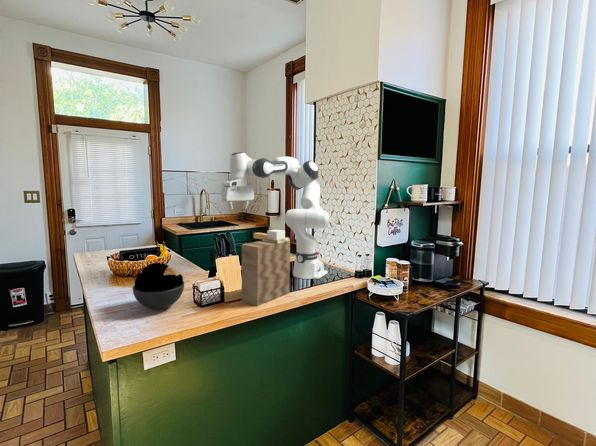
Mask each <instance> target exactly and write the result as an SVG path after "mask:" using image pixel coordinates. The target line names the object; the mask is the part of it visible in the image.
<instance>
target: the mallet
mask: <svg viewBox="0 0 596 446" xmlns="http://www.w3.org/2000/svg"><path fill="white" fill-rule="evenodd" d="M285 237H286V230H285V229H284V230H283V229H282V230H281V229H270V230H268V229H267V231H266V233H265V232H264V233H263V232H253V239H258V240H262V238H268V239H274V240H279V239H284V238H285Z"/></svg>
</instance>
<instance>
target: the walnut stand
mask: <svg viewBox="0 0 596 446" xmlns="http://www.w3.org/2000/svg"><path fill="white" fill-rule="evenodd" d="M290 261H291V238H290V237H288V236H285V238H284V239H279V240H274V239H268V238H262V239H261V240H258V241H254V242H253V241H252V242H247V243H242V244H241V302H244V303H247V304H250V305H253V306H255V307H259V306H261V305H264V304H266V303H269V302H271V301H273V300H276V299H279V298H281V297H284V296H286V295H289V294H290V274H291V271H290V270H291V269H290V268H291V262H290Z"/></svg>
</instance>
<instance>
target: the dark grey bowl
mask: <svg viewBox="0 0 596 446" xmlns="http://www.w3.org/2000/svg"><path fill="white" fill-rule="evenodd" d="M169 267H170V266H169V265H168V264H166V263H164V262H162V263H160V262H152V263H149V264H148V265H146V266H144V267H142V269H141V272H140V273H138V274H137V277H136V279H135V280H134V285H133V286H132V287H131V288H132V294H133V296H134V298H135V300H136V301H137V303H138V304H140V305H141V306H143V307H144V308H146V309H150V310H155V311H157V310H163V309H167V308H170V307H171V306H172V305H174V304H175V303H176V302H177V301H179V299H180V298H181V296H182V294H183V292H184V289H185V281H184V277H183V275H182V274H180V273H179V274H178V275H176V274H165V272H166V270H167V269H168V268H169Z"/></svg>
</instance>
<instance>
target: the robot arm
mask: <svg viewBox="0 0 596 446" xmlns="http://www.w3.org/2000/svg"><path fill="white" fill-rule="evenodd" d="M229 170H230V176H229V179H227V180H225V181H223V182H222V183H221V186H222V188H221V192H220V193H221V196H220V197H221V200H222V202H227V205H228V206H229V211H233V210H234V209H235V206H233V202H241V201H244V204H243V205H242V209H244V210H247V209H248V206H249V203H250V201H253V200H254V199H255V192H254V186H253V184H252V183H249V182H248V178H260V179H261V178H262V179H265V178H268V177H270V176H271V175H272V174H274V175H276V176H287V181H288V183H289V186H290V187H291V189H293V190H295V191H296V190H297V191H298V190H301V189H303V190H302V193H301V198H300V205H301V207H302V208H292V209H288V210H287V211H286V212H285V213H284V223H285V224H286V225H287V227H288V228H289V229H291V231H292V232H293V233H294V235H295V240H296V252H295V260H294V265H293V270H292V275H293V277H295V278H297V279H303V280H307V279H308V280H311V279H321V278H322V277H324V276H325V275H326V274H328V270H327V269H324V268H325V267H324V266H325V265H324V262H323V261H321V260H320V259H319V258H318V256H320V254H321V253H320V251H316V249H317V240H316V237H315V236H313V235H312V234H310V233H309V232H308V231H307V229H313V230H314V229H316V230H318V229H324V228H325V229H326V228H327V227H328V225H329V224H330V221H331V220H330V215H329V213H328V211H326V210H324V208H322V207H321V205H320V199H321V186H320V184H319V183H318V182H317V180H318V178H319V166H318V165H317V163H315V162H314V161H312V160H307V161H305V162H304V163H303V164H301V165H300V162H299V161H298V158H296V157H293V156H286V155H285V156H278V157H274V158H273V160H270V159H267V158H256V159H255V158H254V159H253V158H251V157H250V156H248V155H247V154H246V152H244V151H241V152H240V151H239V152H233V153H231V155H230V158H229Z"/></svg>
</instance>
